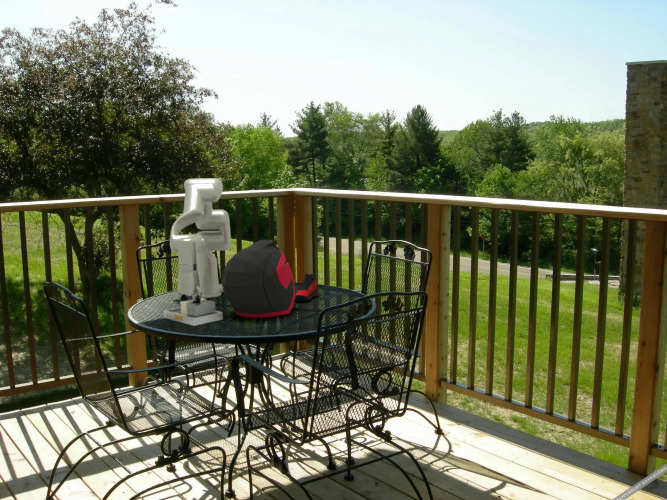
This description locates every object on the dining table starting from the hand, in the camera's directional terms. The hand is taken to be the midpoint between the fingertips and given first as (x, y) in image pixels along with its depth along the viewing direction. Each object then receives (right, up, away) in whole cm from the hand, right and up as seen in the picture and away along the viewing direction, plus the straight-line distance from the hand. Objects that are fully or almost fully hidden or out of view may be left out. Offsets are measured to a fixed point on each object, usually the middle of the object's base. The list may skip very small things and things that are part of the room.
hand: (190, 307), depth 270 cm
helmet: (+28, -3, +7) cm, 29 cm away
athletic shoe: (+47, +1, +35) cm, 58 cm away
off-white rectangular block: (+1, -4, 0) cm, 4 cm away
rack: (+1, -4, -1) cm, 5 cm away
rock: (-8, -1, +25) cm, 26 cm away
